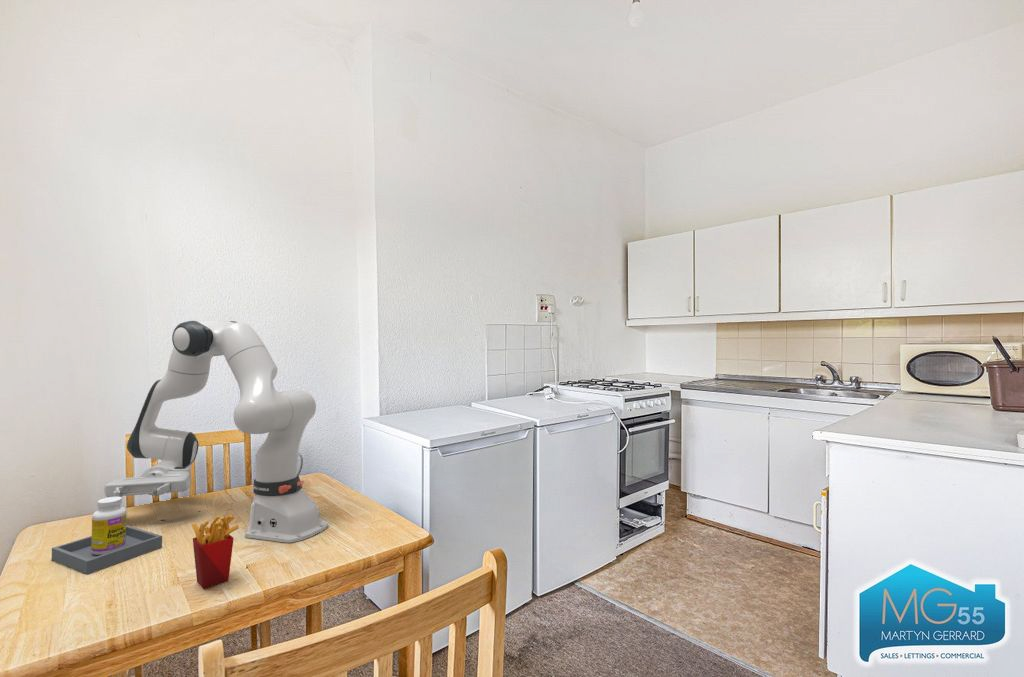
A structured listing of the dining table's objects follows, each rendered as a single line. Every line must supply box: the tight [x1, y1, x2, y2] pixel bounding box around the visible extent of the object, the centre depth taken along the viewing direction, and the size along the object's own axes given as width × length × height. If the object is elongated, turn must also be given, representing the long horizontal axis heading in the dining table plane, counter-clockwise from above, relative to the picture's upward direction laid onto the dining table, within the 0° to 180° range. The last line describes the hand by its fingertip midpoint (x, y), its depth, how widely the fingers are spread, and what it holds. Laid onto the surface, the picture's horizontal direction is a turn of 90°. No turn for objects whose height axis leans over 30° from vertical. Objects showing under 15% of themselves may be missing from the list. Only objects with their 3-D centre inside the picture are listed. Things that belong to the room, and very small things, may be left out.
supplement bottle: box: [91, 497, 127, 555], centre depth 121 cm, size 7×7×13 cm
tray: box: [51, 524, 163, 575], centre depth 121 cm, size 16×16×3 cm
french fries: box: [191, 514, 240, 590], centre depth 107 cm, size 9×8×15 cm
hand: (136, 493), depth 133 cm, fingers open, 8 cm apart
